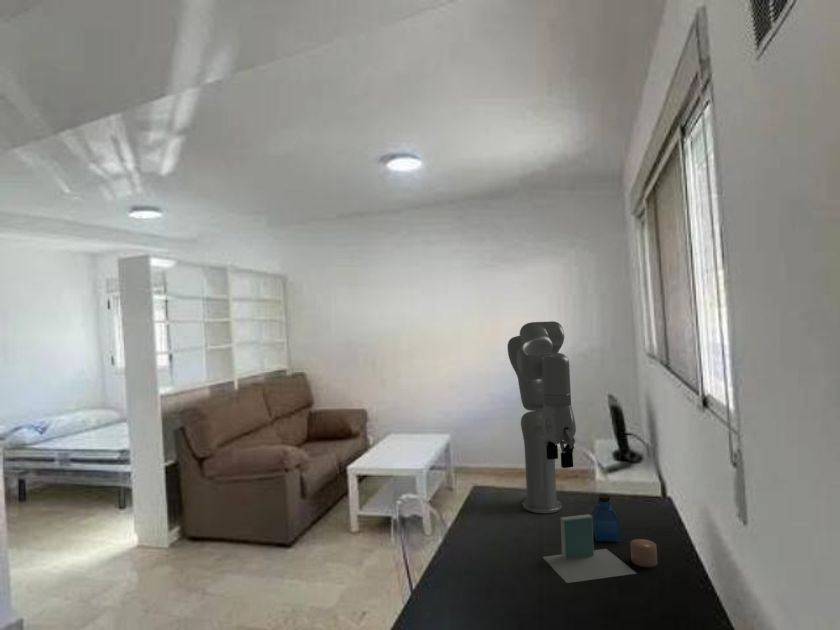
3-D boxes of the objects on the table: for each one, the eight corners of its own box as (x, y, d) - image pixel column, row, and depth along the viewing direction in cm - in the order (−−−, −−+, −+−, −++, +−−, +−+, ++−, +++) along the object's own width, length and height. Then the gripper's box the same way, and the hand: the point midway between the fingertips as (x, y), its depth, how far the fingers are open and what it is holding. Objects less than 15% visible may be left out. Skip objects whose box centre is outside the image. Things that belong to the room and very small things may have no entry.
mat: (542, 559, 136) (542, 556, 136) (606, 550, 139) (606, 548, 139) (566, 585, 122) (566, 583, 122) (637, 575, 125) (637, 573, 125)
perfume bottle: (619, 544, 143) (617, 500, 143) (596, 543, 144) (594, 499, 144) (615, 534, 149) (614, 492, 149) (593, 533, 150) (591, 492, 150)
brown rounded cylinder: (626, 560, 133) (625, 540, 134) (648, 557, 135) (646, 537, 135) (640, 571, 128) (639, 550, 128) (662, 567, 129) (661, 547, 129)
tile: (562, 556, 136) (560, 517, 136) (590, 552, 137) (588, 514, 137) (565, 559, 134) (563, 520, 134) (594, 555, 135) (592, 517, 135)
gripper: (531, 396, 153) (534, 456, 152) (558, 405, 136) (561, 472, 135) (555, 395, 154) (558, 454, 154) (584, 403, 137) (587, 470, 137)
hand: (559, 462), depth 144 cm, fingers open, 8 cm apart
